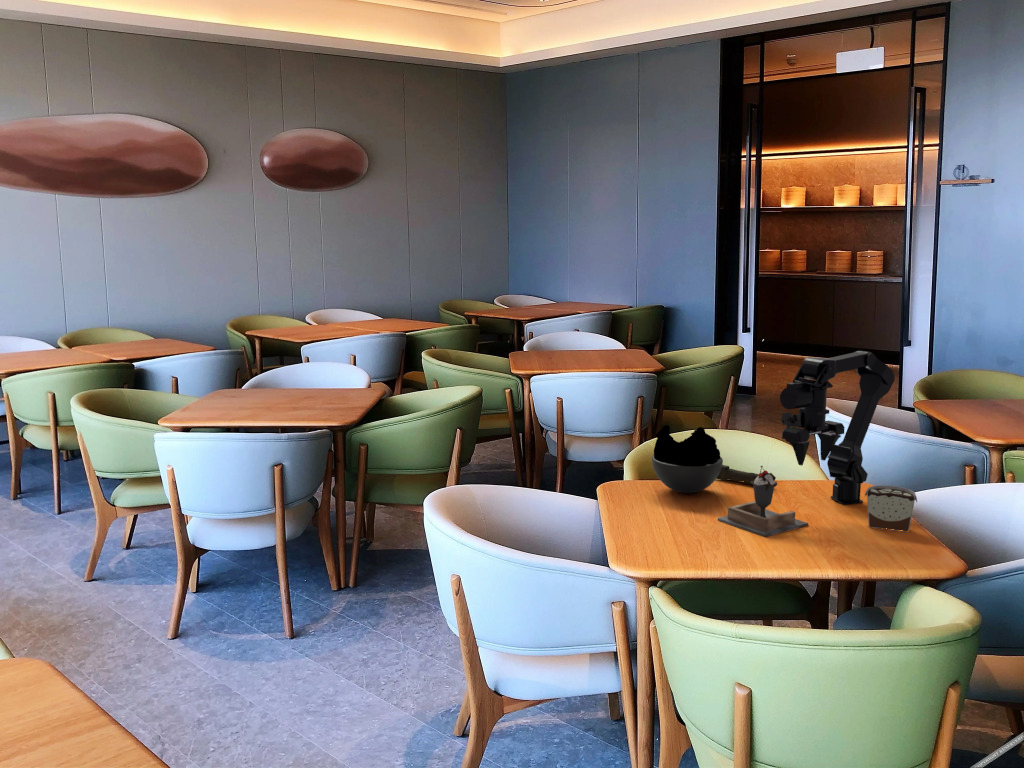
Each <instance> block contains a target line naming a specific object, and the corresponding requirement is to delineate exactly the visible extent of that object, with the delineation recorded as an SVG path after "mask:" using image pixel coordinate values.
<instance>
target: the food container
mask: <svg viewBox="0 0 1024 768" xmlns="http://www.w3.org/2000/svg"><path fill="white" fill-rule="evenodd" d="M864 497H866V500H867V501H866V502H867V503H866V504H867V518H868V519H867V520H868V528H869V527H873V528H872V529H876V528H883V529H882V530H884V529H886V528H887V529H894V530H903V531H909V532H910V527H911V522H912V517H913V512H914V506H915V502H916V503H918V497H917V495H916V492H915V491H914V490H911V489H909V488H905V487H902V486H896V485H885V484H884V485H882V484H881V485H872V486H870V487H868V488H867V489H866V491H865V493H864Z"/></svg>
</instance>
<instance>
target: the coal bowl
mask: <svg viewBox="0 0 1024 768" xmlns="http://www.w3.org/2000/svg"><path fill="white" fill-rule="evenodd" d="M655 437H656V441H655V445H654V448H653V454H652V456H651V464H652V467H653V470H654V473H655V475H656V476H657V478H658V479H659V481H660V482H661V483H662V484H664V485H665V486H666V487H667V488H669V489H670V490H672V491H675V492H678V493H682V494H692V493H698V492H701V491H704V490H705V489H707V488H708V487H710V486H711V485H712V484H714V482H715V481H716V480H717V479H716V478H717V477H718V475H719V473H720V471H721V468H722V465H724V464H723V462H724V460H723V458H722V457H721V451H720V449H719V448H718V445H717V440H716V439H715V437H714V436H711V435H710V434H708V433H706V430H705V428H704V427H702V426H698V427H697V428H696V429H694V430H693V432H691V433H690V436H688V437H687V438H684V440H682V441H681V440H680V441H676V440H675V439H674V437H672V435H671V434H670V426H669V425H668V424H666V425H664V426H662V428H661V429H660V430H659V431H658V432H656V434H655Z"/></svg>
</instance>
